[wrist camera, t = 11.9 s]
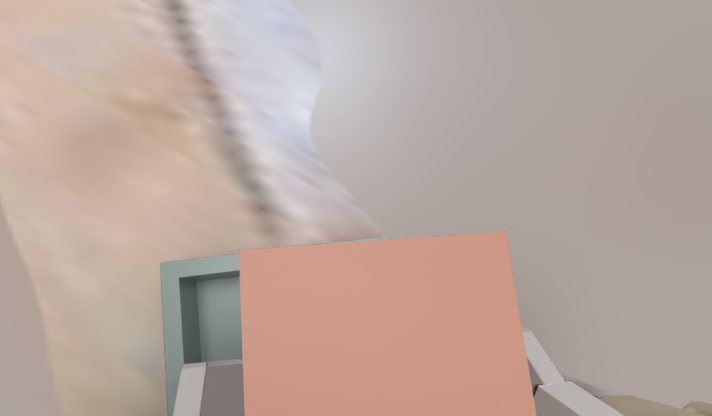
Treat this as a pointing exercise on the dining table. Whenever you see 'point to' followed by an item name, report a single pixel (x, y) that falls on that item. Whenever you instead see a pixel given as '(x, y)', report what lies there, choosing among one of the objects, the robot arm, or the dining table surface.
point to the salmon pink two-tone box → (384, 329)
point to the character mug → (654, 407)
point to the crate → (202, 313)
